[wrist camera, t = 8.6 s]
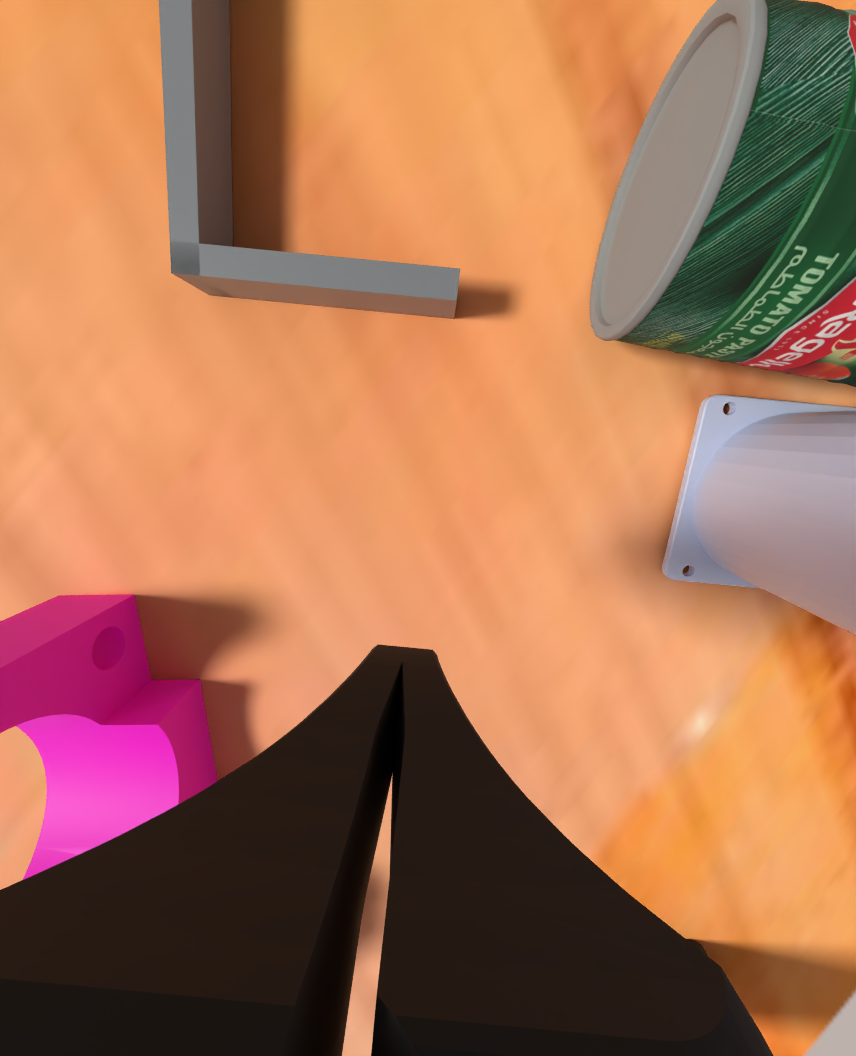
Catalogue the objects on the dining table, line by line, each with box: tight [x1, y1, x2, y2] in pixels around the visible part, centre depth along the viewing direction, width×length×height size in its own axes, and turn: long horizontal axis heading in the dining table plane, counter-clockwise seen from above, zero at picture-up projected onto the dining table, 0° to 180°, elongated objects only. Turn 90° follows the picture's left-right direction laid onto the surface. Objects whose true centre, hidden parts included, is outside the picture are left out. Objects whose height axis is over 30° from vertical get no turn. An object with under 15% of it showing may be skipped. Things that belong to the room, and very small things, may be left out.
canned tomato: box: [590, 0, 856, 387], centre depth 13 cm, size 8×8×11 cm
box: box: [159, 0, 460, 319], centre depth 14 cm, size 10×14×2 cm
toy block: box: [0, 594, 217, 880], centre depth 19 cm, size 15×6×8 cm, turn 2°
